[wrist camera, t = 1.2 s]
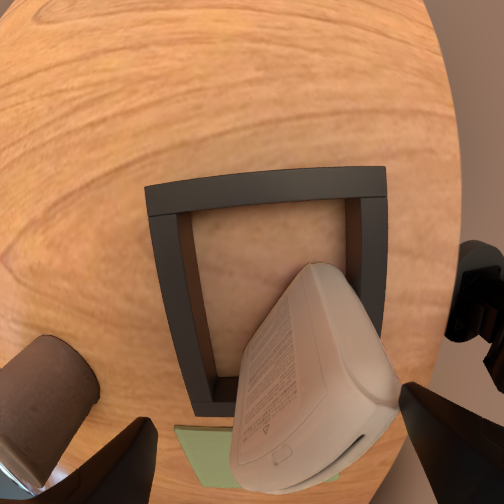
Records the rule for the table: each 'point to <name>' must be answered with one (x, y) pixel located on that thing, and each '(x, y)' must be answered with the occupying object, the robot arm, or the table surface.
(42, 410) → the pillar candle
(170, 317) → the dark rectangular frame
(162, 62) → the table surface
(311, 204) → the table surface
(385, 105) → the table surface
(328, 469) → the cream rounded block
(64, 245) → the table surface
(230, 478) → the mat
